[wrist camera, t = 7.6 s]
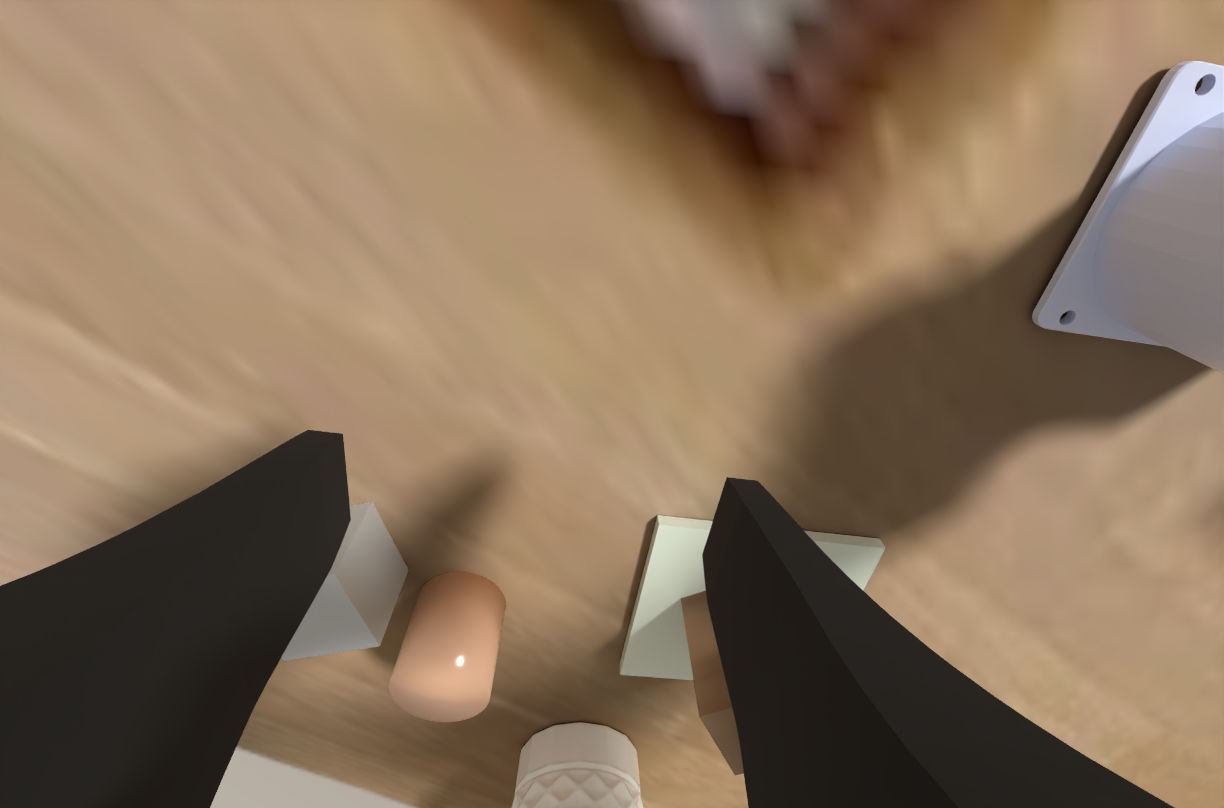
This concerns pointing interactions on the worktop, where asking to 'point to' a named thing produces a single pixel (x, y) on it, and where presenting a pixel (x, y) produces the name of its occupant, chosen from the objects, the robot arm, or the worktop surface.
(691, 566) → the coaster
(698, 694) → the walnut block
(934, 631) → the worktop surface
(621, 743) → the white cup
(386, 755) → the worktop surface
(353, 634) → the grey stone block
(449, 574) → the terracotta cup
